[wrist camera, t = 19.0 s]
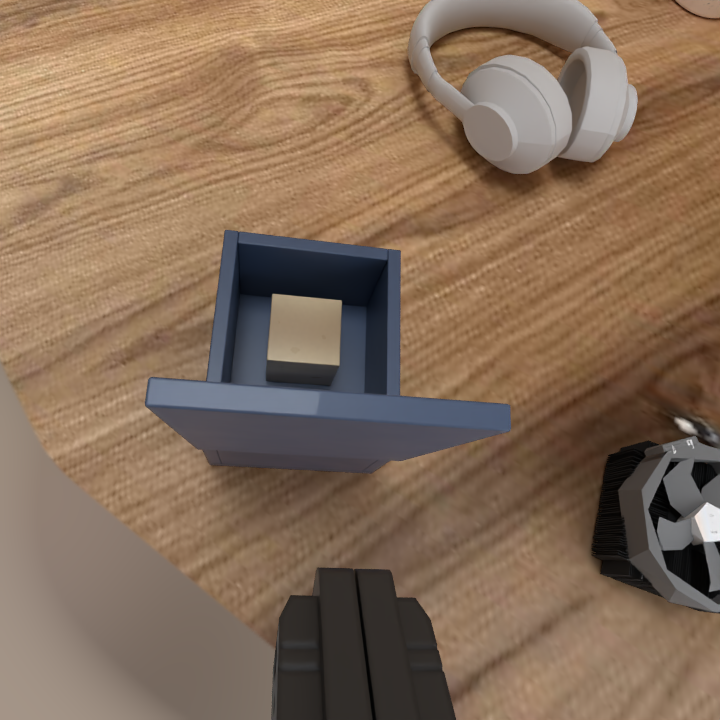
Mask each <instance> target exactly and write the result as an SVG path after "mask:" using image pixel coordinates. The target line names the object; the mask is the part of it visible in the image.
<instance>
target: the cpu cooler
mask: <svg viewBox="0 0 720 720" xmlns="http://www.w3.org/2000/svg"><path fill="white" fill-rule="evenodd" d="M608 456H610V457H608V458H610V459H607V460H609V461H607V462H609V463H606V466H607V468H605V474H604V480H603V483H605V484H603V485H602V486H603V487H602V488H603V489H602V490H604V491H602V492H603V493H601V494H602V495H601V496H603V497H600V498H602V499H600V500H602V501H600V502H601V505H599V506H600V508H602V509H598V510H599V511H601V512H599V513H598V515H600V516H597V517H600V518H597V519H599V520H596V521H598V522H596V523H597V524H596V526H595V530H597V531H595V532H596V533H597V534H596V535H594V536H595V537H594V539H593V540H596V541H598V542H595V543H597V544H592V545H594V546H593V547H596V548H592V551H594V552H596V553H593V554H595V555H592V556H595V557H597V558H599V559H601V560H603V564H602V569H601V573H600V574H603V575H605V576H607V577H611V578H613V579H615V580H619V581H621V582H623V583H627V584H629V585H631V586H634V587H637V588H639V589H642V590H646V591H647V592H651V593H653V594H655V595H658V596H661V597H663V598H665V599H666V600H667V601H668V602H671V603H675V604H680V605H684V606H688V607H690V608H692V609H695V610H698V611H704V612H712V613H720V449H716V448H712V447H709V446H706V445H703V444H701V443H699V441H698V440H697V438H696V436H692V437H688V438H684V439H680V440H676V441H673V442H669V443H665V444H661V445H659V444H656V443H653V442H651V441H646V442H642V443H638V444H634V445H630V446H627V447H623V448H621V451H620V452H617V453H614V454H611V455H608ZM706 463H707V464H706Z"/></svg>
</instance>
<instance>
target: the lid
mask: <svg viewBox="0 0 720 720" xmlns="http://www.w3.org/2000/svg"><path fill="white" fill-rule="evenodd" d="M145 406H146V407H147V408H148V409H150V410H151V411H152V412H153V413H154V414H156V415H157V416H158V417H159V418H160V419H162V420H163V421H164V422H165V423H166V424H168V425H169V426H170V427H171V428H172V429H174V430H175V431H176V432H177V433H178V434H180V435H181V436H182V437H183V438H185V439H186V440H187V441H188V442H189V443H191V444H192V445H193V446H194V447H195V448H197V449H201V450H218V451H235V452H253V453H270V454H288V455H305V456H323V457H340V458H358V459H375V460H393V461H403V460H406V459H410V458H414V457H417V456H421V455H425V454H428V453H432V452H436V451H439V450H443V449H447V448H450V447H454V446H458V445H461V444H465V443H469V442H472V441H476V440H480V439H483V438H487V437H491V436H494V435H498V434H502V433H505V432H509V431H510V429H511V421H510V405H508V404H501V403H487V402H474V401H461V400H448V399H435V398H422V397H409V396H395V395H382V394H369V393H356V392H343V391H330V390H317V389H303V388H290V387H277V386H264V385H251V384H238V383H225V382H211V381H198V380H185V379H172V378H159V377H150V378H149V379H148V385H147V392H146V399H145Z"/></svg>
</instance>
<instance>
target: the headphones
mask: <svg viewBox="0 0 720 720" xmlns="http://www.w3.org/2000/svg"><path fill="white" fill-rule="evenodd" d="M597 22H598V19H597V18H596V17H595V16H594V15H593V14H592V12H591V11H590V10H589V9H588V8H587V7H586V6H584V5H583V4H582V3H580V2H579V1H577V0H431V1H430V2H429V3H427V4H426V5H425V6H424V7H423V9H422V10H421V12H420V13H419V15H418V16H417V18H416V20H415V22H414V24H413V27H412V31H411V34H410V39H409V44H408V58H409V62H410V65H411V68H412V70H413V72H414V73H417V75H419V77H420V79H421V81H422V83H423V85H424V86H425V88H426V89H427V91H428V92H430V93H431V95H432V96H433V97H434V98H435V99H436V100H437V101H438V102H440V103H441V104H442V105H444V106H445V107H446V108H447V109H448V110H449V111H450V112H452V113H453V114H454V115H455V116H456V117H457V118H459V119H460V120H461V121H462V124H463V126H464V131H465V134H466V137H467V139H468V141H469V142H470V144H471V146H472V147H473V148H474V149H475V150H476V151H477V152H478V153H479V154H480V155H481V156H483V157H484V158H485V159H486V160H487V161H489V162H490V163H492V164H493V165H495V166H496V167H498V168H499V169H501V170H504V171H507V172H510V173H513V174H528V173H530V172H533V171H535V170H537V169H539V168H541V167H542V166H544V165H545V164H547V163H548V162H550V161H551V160H552V159H554V158H555V157H560V158H566V159H572V160H578V161H584V162H586V161H587V162H594V161H596V160H598V159H600V158H601V157H602V155H603V154H604V153H605V152H606V151H607V149H608V148H609V147H610V145H611V144H612V143H613V141H616V142H619V141H620V140H622V139H623V138H624V137H625V136H626V135H627V133H628V132H629V130H630V128H631V126H632V123H633V121H634V118H635V114H636V109H637V92H636V89H635V87H634V86H632V85H630V84H628V80H627V72H626V67H625V65H624V62H623V60H622V58H620V57H619V56H618V55H617V50H616V48H615V47H614V45H613V43H612V42H611V41H610V40H609V38H608V37H607V36H606V34H605V33H604V32H603V29H602V28H601V27H600V25H599V24H598V23H597ZM470 27H497V28H507V29H510V30H514V31H517V32H522V33H526V34H531V35H533V36H535V37H537V38H539V39H542V40H544V41H546V42H548V43H550V44H553V45H555V46H557V47H559V48H561V49H564V50H566V51H569V52H571V53H572V54H571V55H570V56H569V58H568V59H567V61H566V63H565V64H564V66H563V68H562V70H561V72H560V75H559V77H558V80H556V79H555V78H554V77H553V76H552V75H551V74H550V73H549V72H548V71H547V70H546V69H545V68H544V67H543V66H541V65H539V64H538V63H536V62H534V61H532V60H530V59H529V58H525V57H520V56H514V55H505V56H500V57H496V58H494V59H492V60H490V61H488V62H486V63H485V64H483V65H481V66H479V67H478V68H477V69H475V70H474V71H472V72H471V73H470V74H469V75H468V77H467V79H466V81H465V82H464V84H463V88H462V89H461V93H460V92H459V91H458V90H456V89H455V88H454V87H453V86H452V85H450V84H449V83H448V82H446V81H445V80H444V79H443V78H442V77H441V76H440V75H439V74H438V71H437V69H436V67H435V65H434V62H433V59H432V57H431V54H430V47H431V45H432V44H433V43H434V42H435V41H437V40H438V39H440V38H441V37H443V36H445V35H446V34H448V33H451V32H454V31H457V30H461V29H464V28H470Z"/></svg>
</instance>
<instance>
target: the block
mask: <svg viewBox="0 0 720 720" xmlns="http://www.w3.org/2000/svg"><path fill="white" fill-rule="evenodd" d="M341 315H342V301H341V300H332V299H322V298H312V297H301V296H291V295H281V294H272V302H271V314H270V326H269V338H268V350H267V363H266V379H265V380H266V381H274V382H288V383H302V384H315V385H329V386H330V385H331V383H332V381H333V379H334V376H335V374H336V372H337V370H338V368H339V365H340V342H341Z"/></svg>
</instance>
